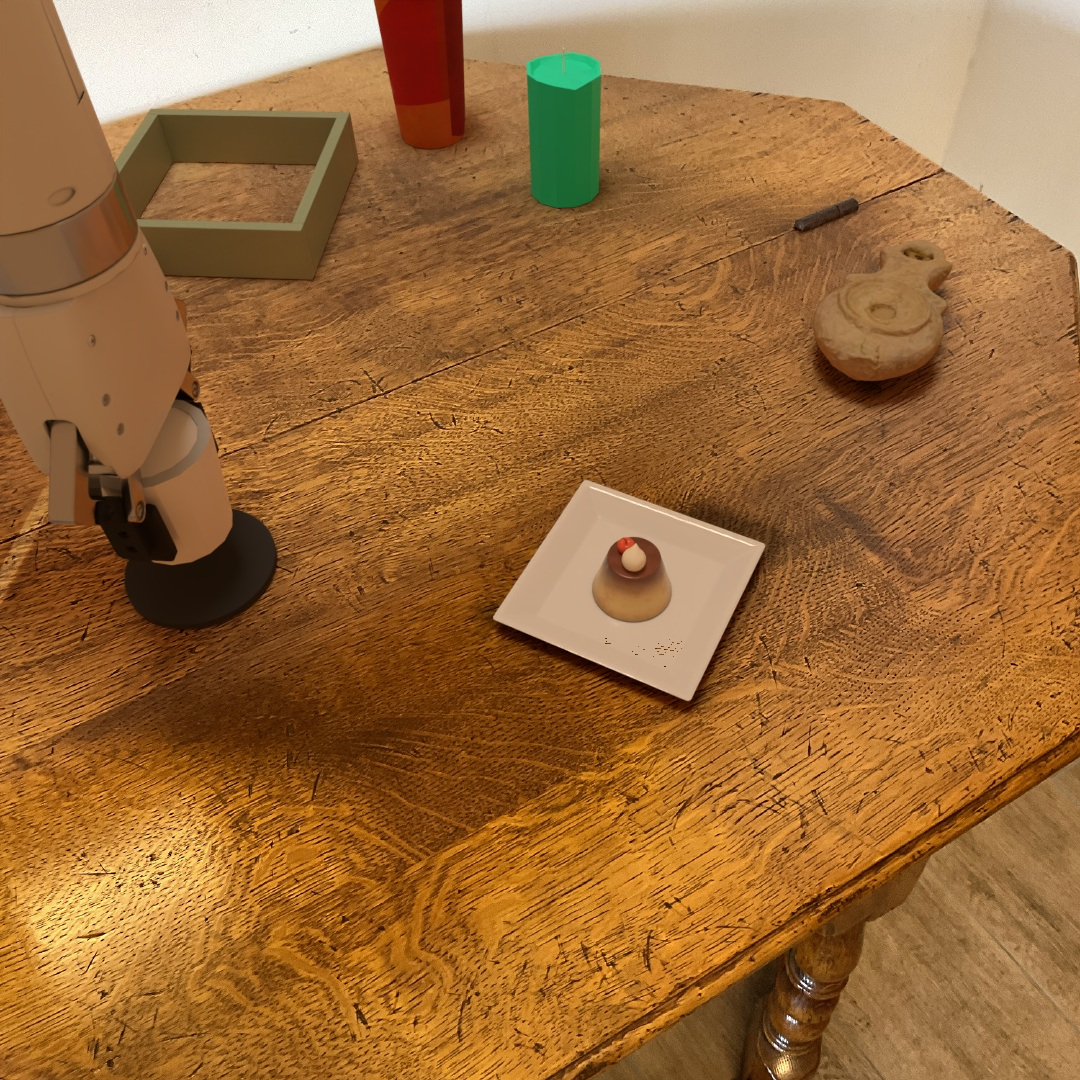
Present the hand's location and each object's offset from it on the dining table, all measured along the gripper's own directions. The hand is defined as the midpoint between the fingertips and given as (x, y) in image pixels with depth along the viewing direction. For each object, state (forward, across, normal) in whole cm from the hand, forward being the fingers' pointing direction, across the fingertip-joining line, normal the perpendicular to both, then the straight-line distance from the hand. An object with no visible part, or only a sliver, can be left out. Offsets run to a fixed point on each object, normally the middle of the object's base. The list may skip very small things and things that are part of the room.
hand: (171, 501), depth 56 cm
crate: (+6, -38, -9) cm, 40 cm away
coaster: (+6, 0, 0) cm, 6 cm away
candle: (+6, -43, +19) cm, 47 cm away
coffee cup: (+6, -52, +6) cm, 53 cm away
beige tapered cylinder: (+2, 0, 0) cm, 2 cm away
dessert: (+6, 0, +26) cm, 27 cm away
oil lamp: (+6, -24, +43) cm, 50 cm away
